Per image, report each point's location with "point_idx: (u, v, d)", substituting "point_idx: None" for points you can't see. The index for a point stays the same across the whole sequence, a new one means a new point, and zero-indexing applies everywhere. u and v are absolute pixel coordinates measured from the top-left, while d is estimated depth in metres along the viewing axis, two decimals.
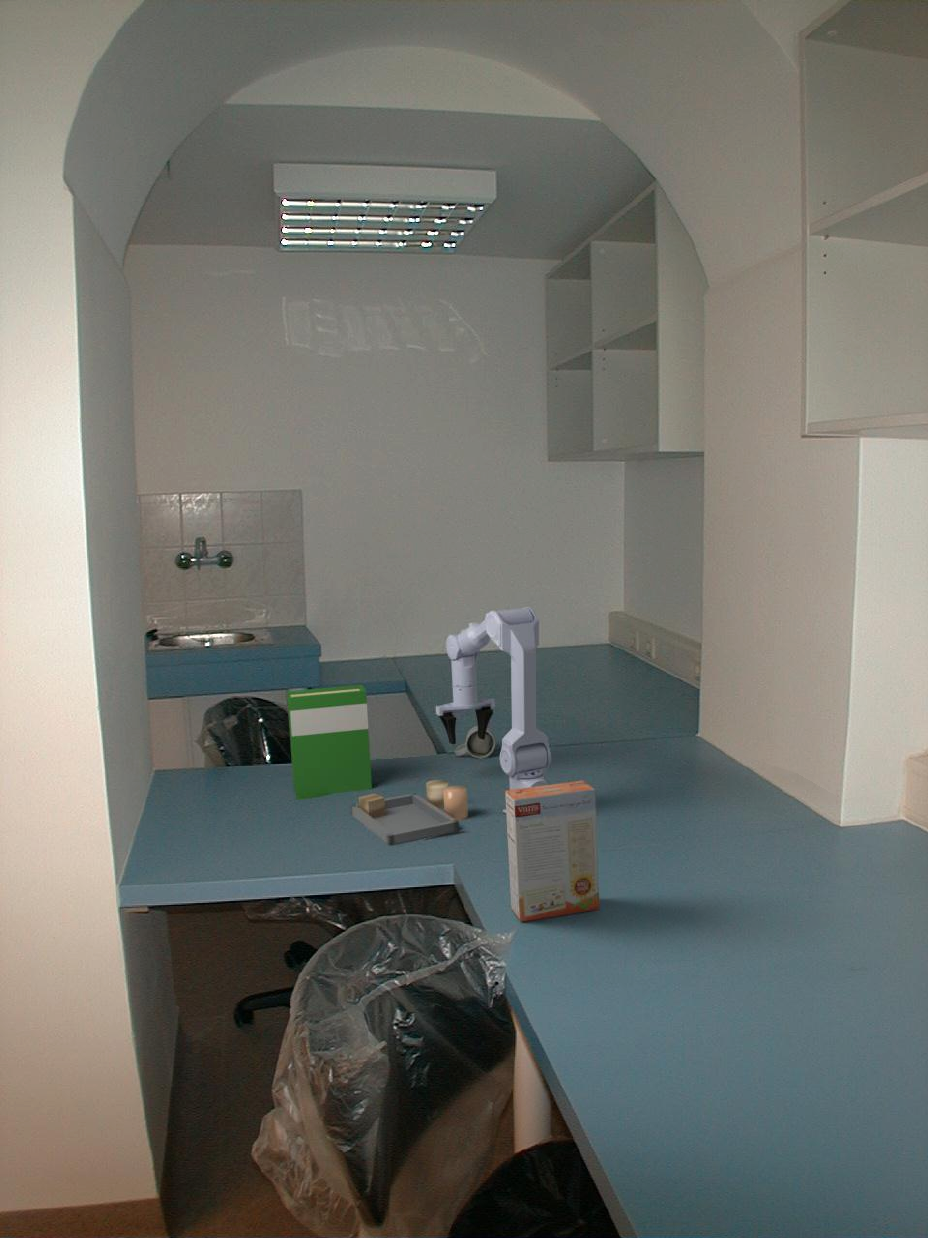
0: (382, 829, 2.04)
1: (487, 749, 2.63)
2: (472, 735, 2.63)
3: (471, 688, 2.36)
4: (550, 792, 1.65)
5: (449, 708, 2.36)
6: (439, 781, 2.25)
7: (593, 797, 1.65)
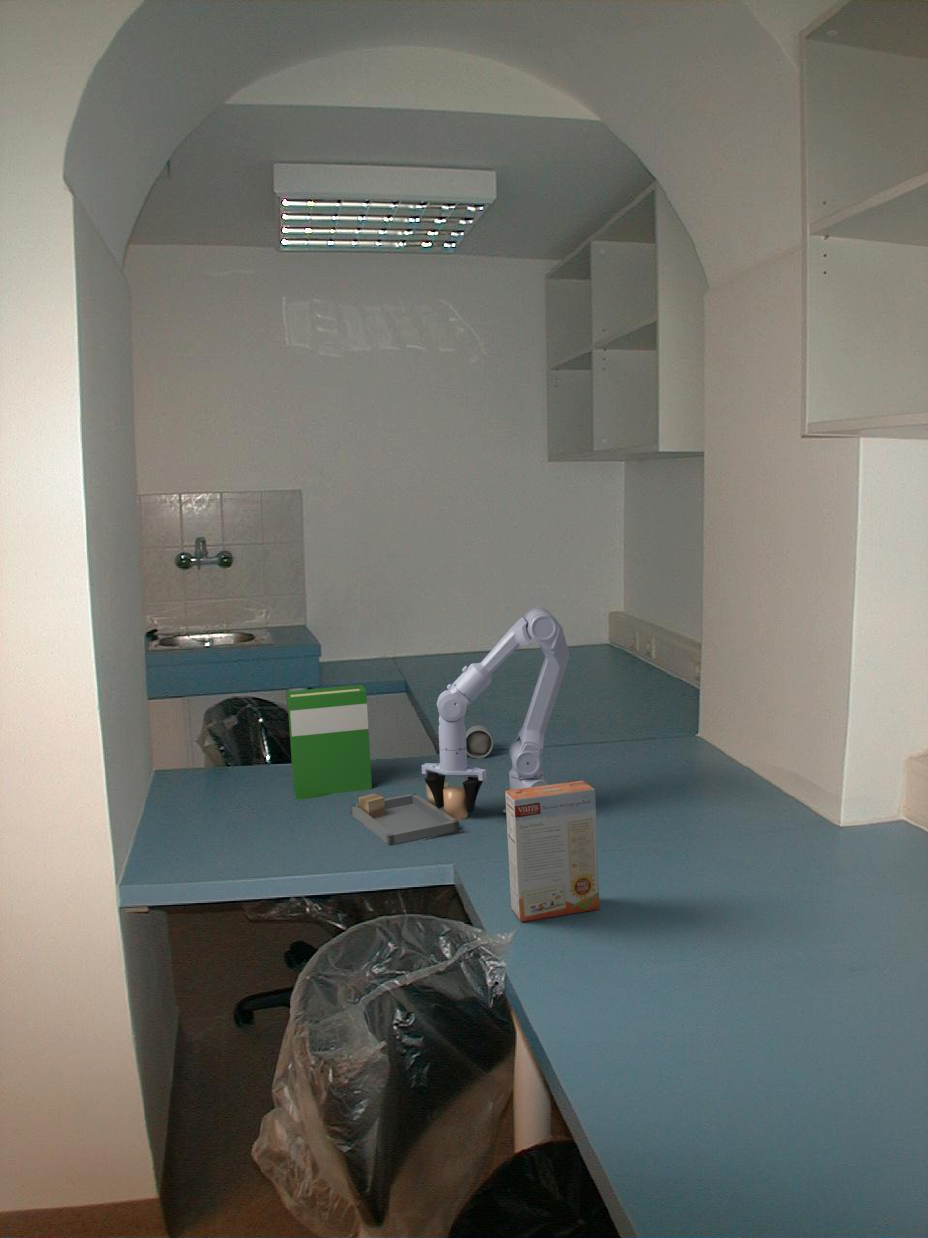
0: (382, 829, 2.04)
1: (485, 749, 2.63)
2: (470, 735, 2.63)
3: (448, 753, 2.12)
4: (550, 792, 1.65)
5: (430, 768, 2.16)
6: None
7: (593, 797, 1.65)
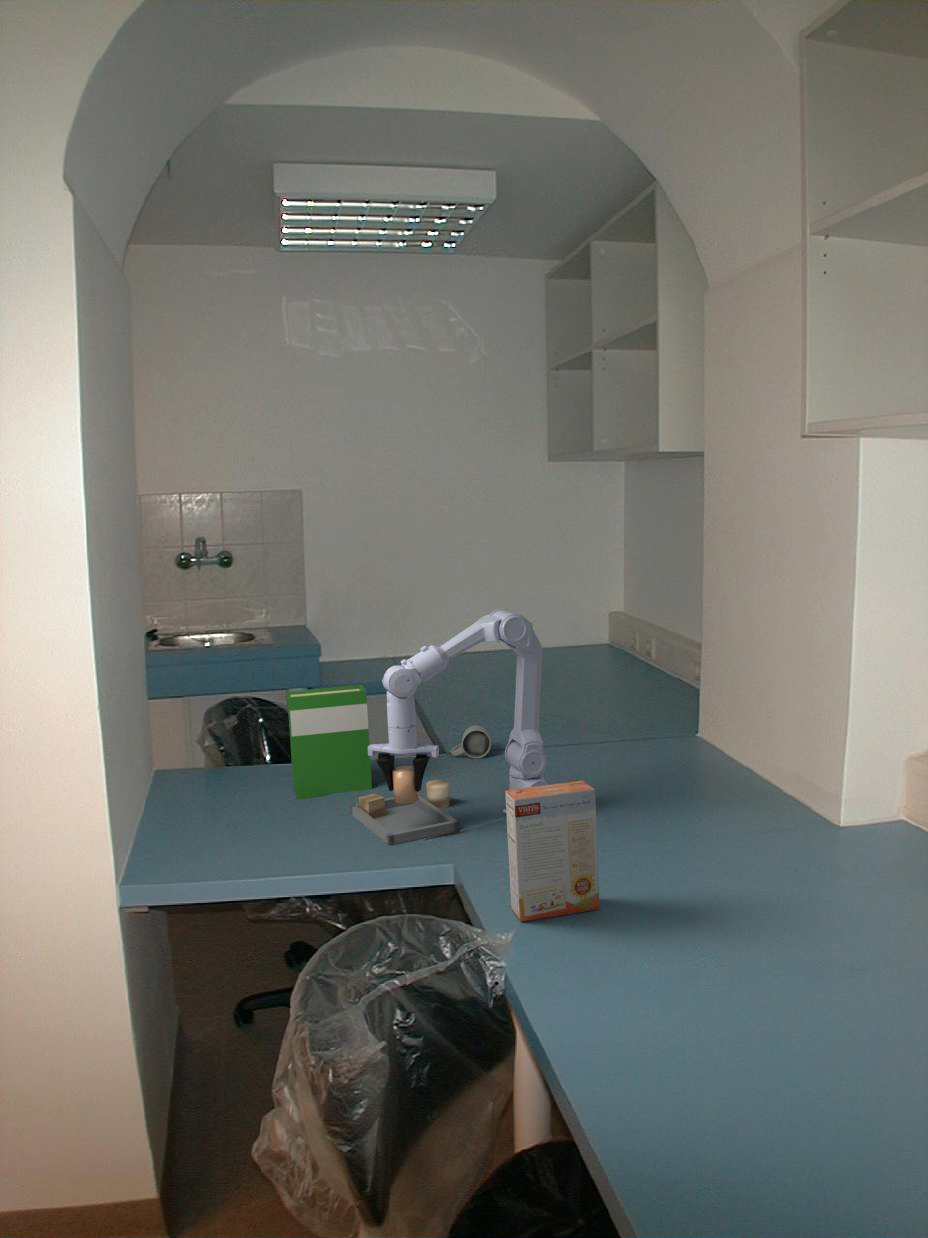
0: (382, 829, 2.04)
1: (483, 749, 2.63)
2: (468, 735, 2.63)
3: (400, 731, 2.04)
4: (551, 792, 1.65)
5: (378, 749, 2.07)
6: (439, 781, 2.25)
7: (593, 797, 1.65)
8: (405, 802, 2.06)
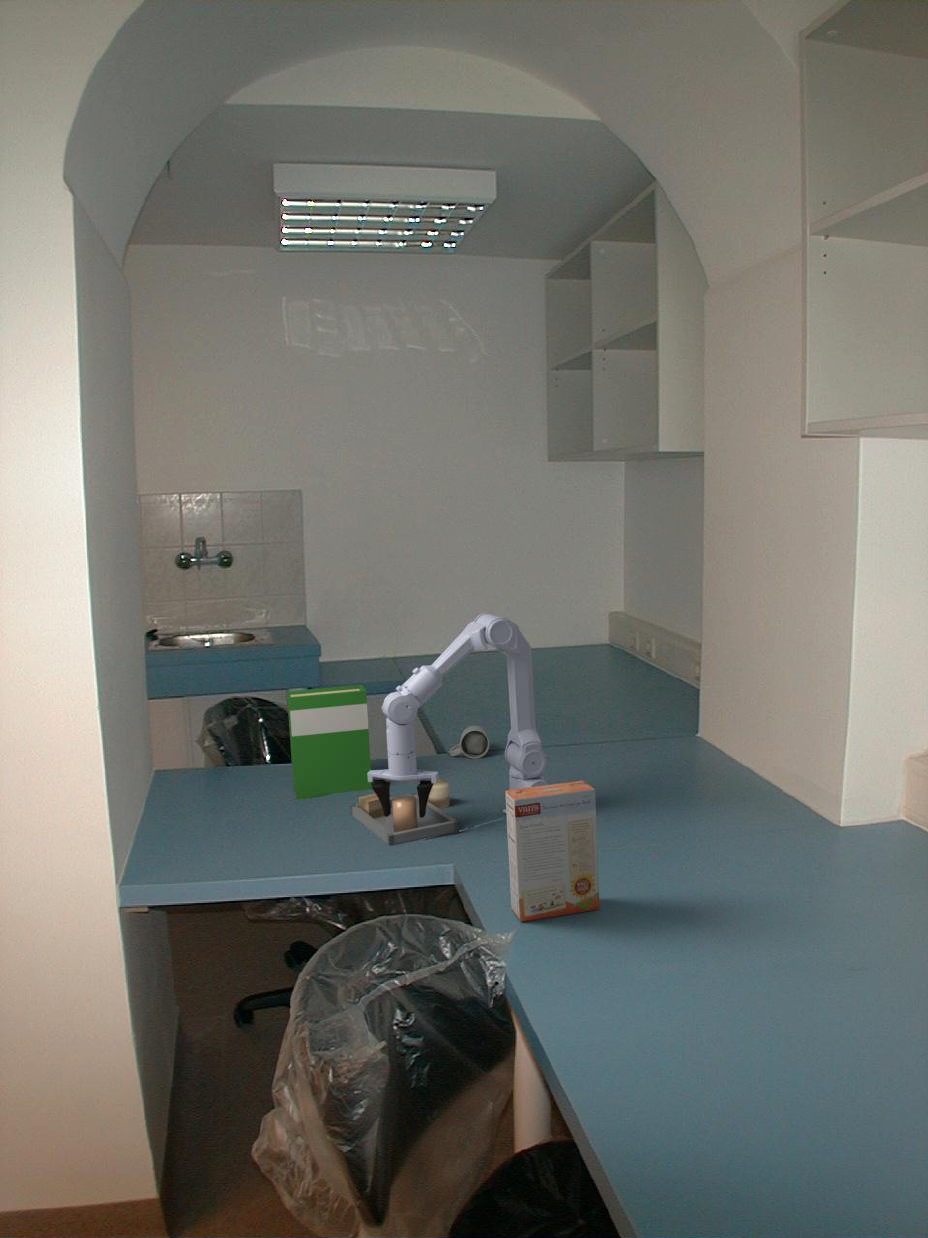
0: (382, 829, 2.04)
1: (481, 749, 2.63)
2: (466, 735, 2.63)
3: (399, 757, 2.04)
4: (550, 792, 1.65)
5: (378, 775, 2.07)
6: (439, 781, 2.25)
7: (593, 797, 1.65)
8: None
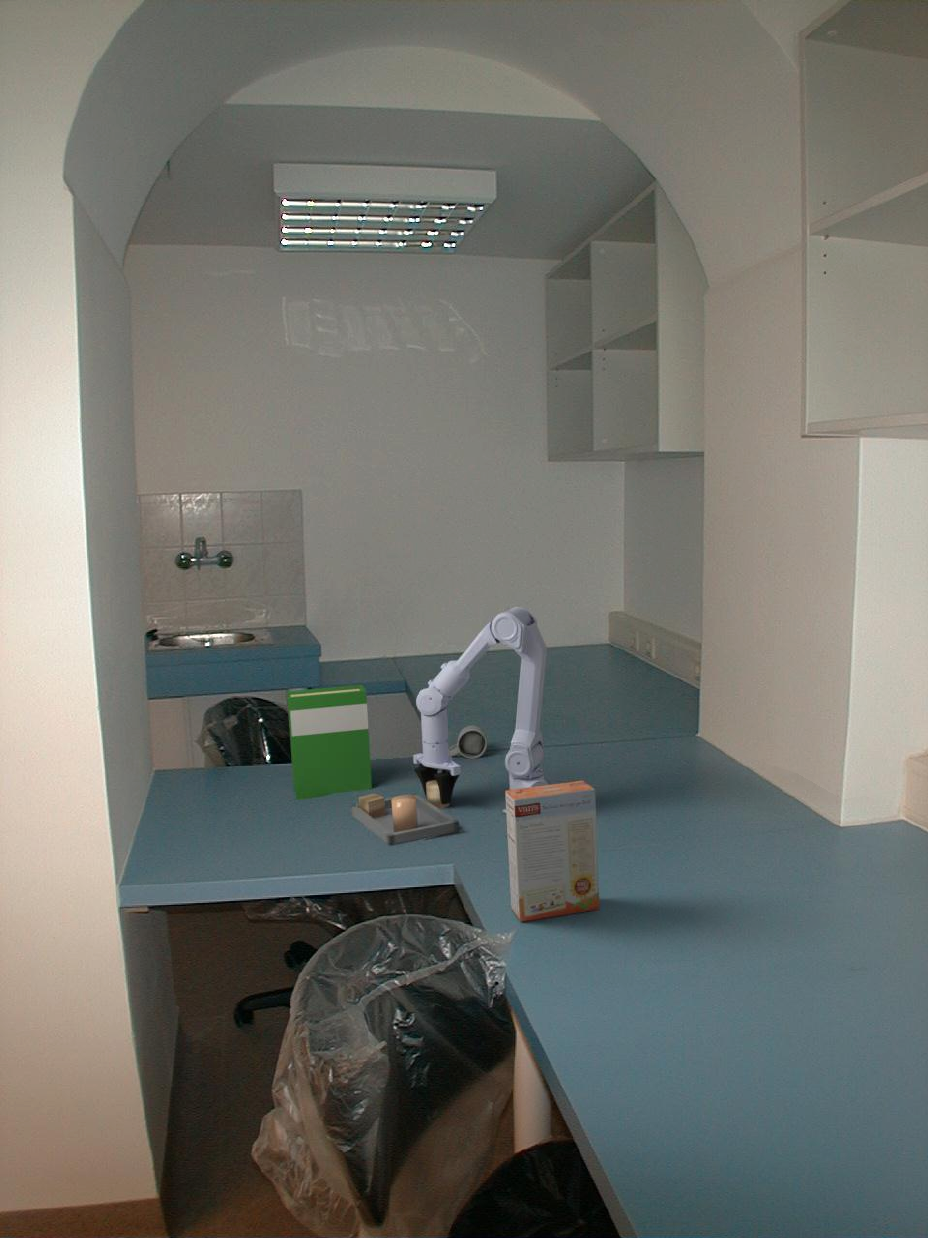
0: (382, 829, 2.04)
1: (479, 749, 2.63)
2: (464, 735, 2.63)
3: (426, 745, 2.20)
4: (550, 792, 1.65)
5: (417, 759, 2.26)
6: None
7: (593, 797, 1.65)
8: None
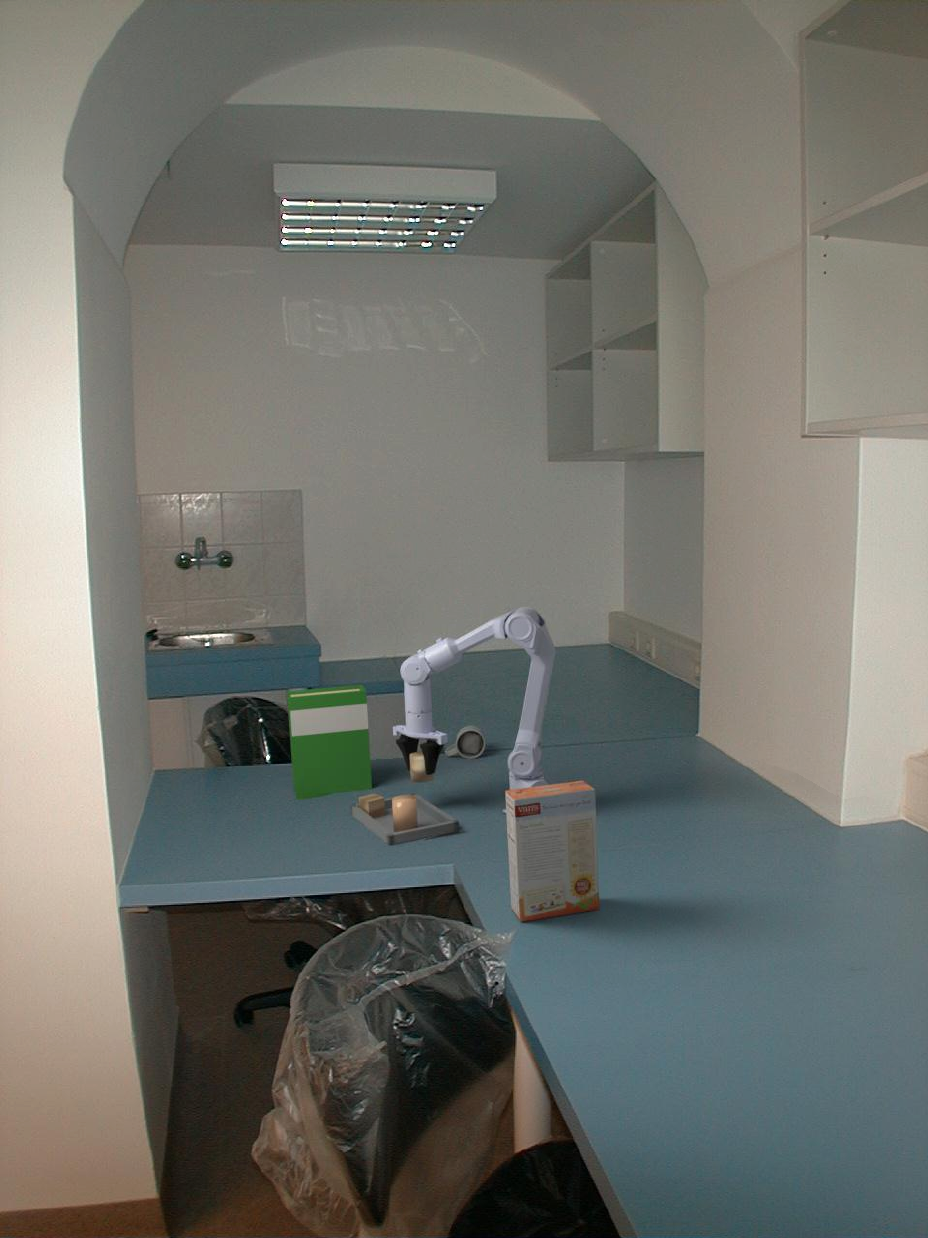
0: (382, 829, 2.04)
1: (477, 749, 2.63)
2: (462, 735, 2.63)
3: (410, 715, 2.16)
4: (550, 792, 1.65)
5: (398, 730, 2.21)
6: (421, 752, 2.22)
7: (593, 797, 1.65)
8: None
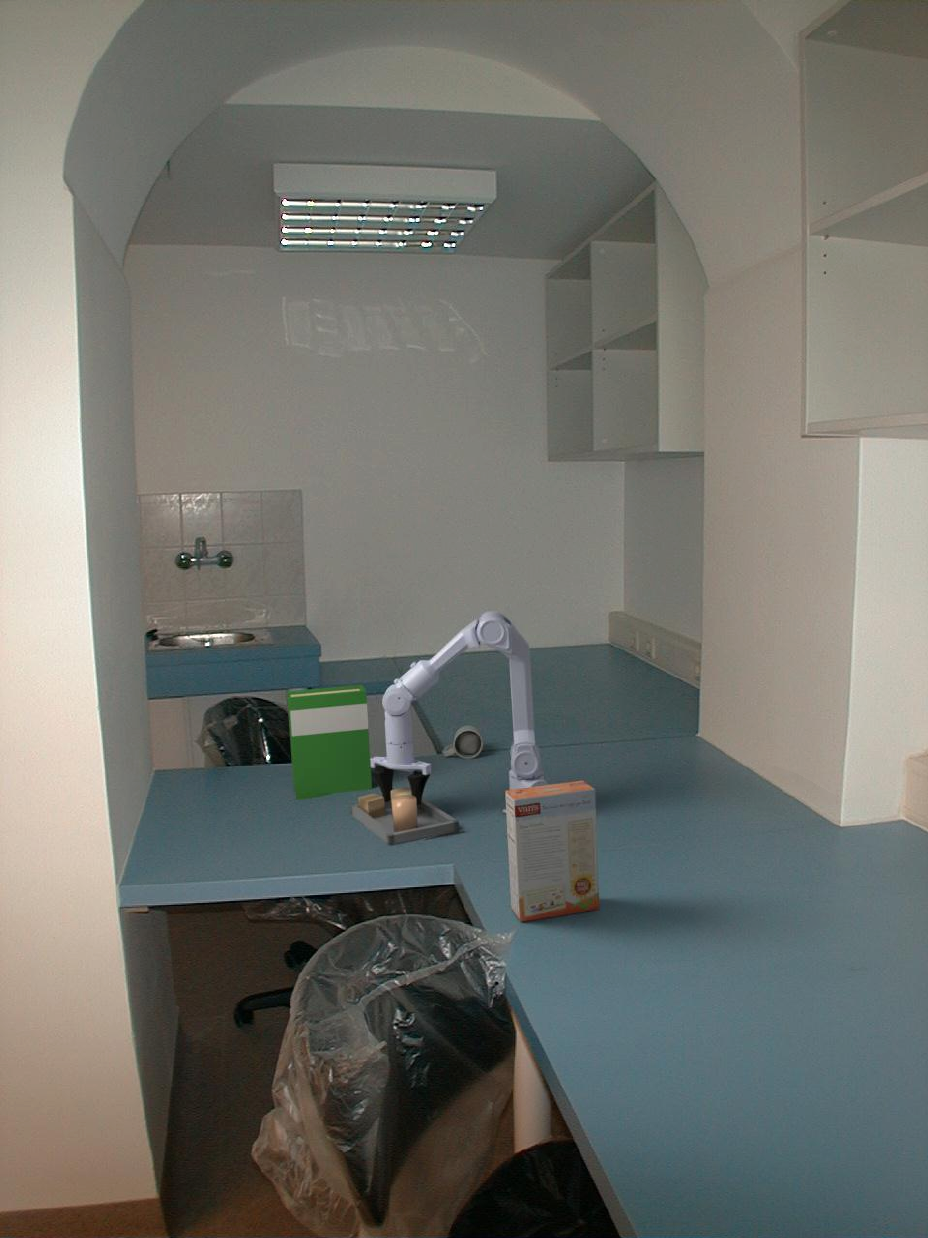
0: (382, 829, 2.04)
1: (475, 749, 2.63)
2: (460, 735, 2.63)
3: (393, 746, 2.13)
4: (550, 792, 1.65)
5: (378, 762, 2.18)
6: (401, 788, 2.19)
7: (593, 797, 1.65)
8: None
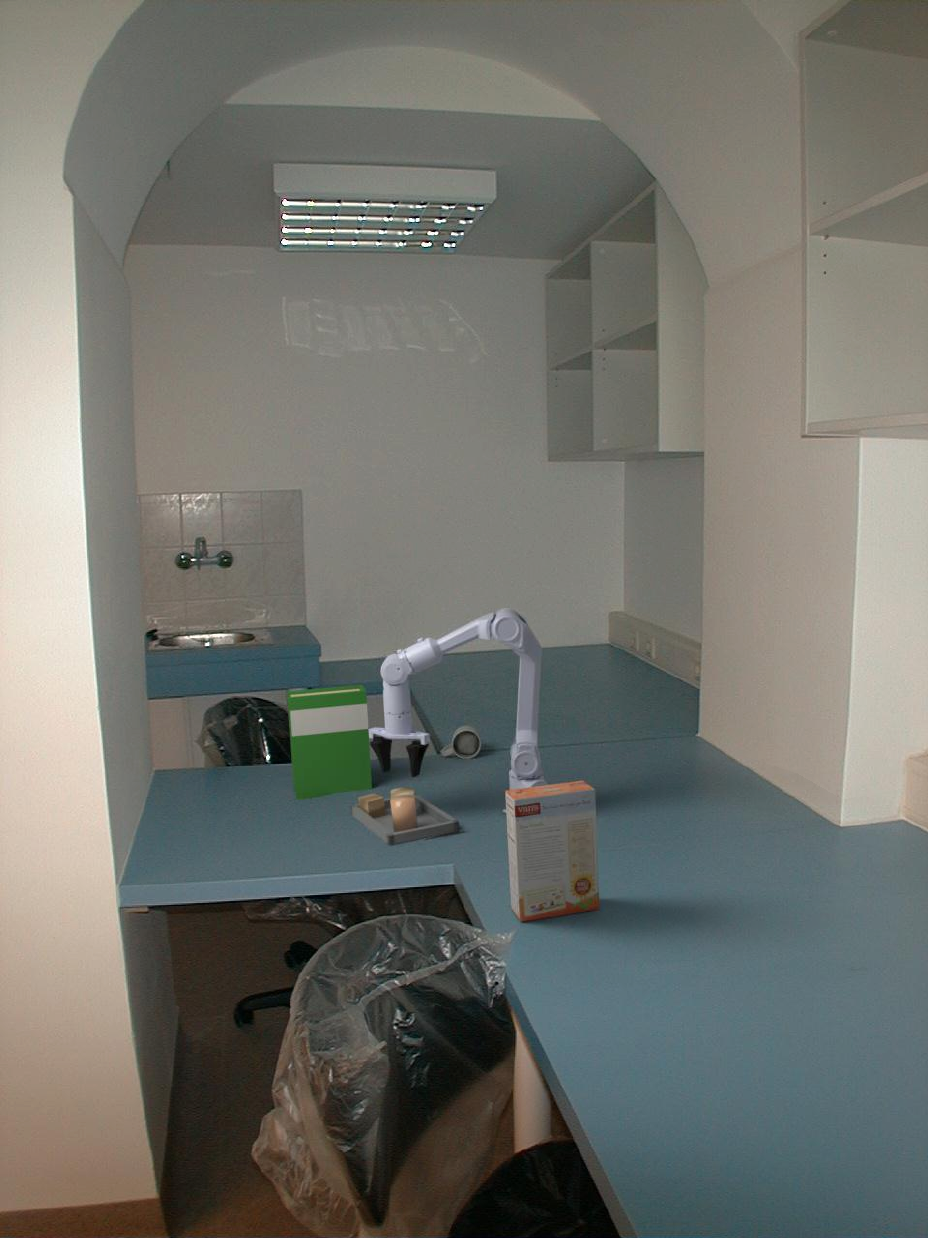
0: (382, 829, 2.04)
1: (473, 749, 2.63)
2: (458, 735, 2.63)
3: (391, 716, 2.12)
4: (550, 792, 1.65)
5: (376, 732, 2.17)
6: (401, 788, 2.19)
7: (593, 797, 1.65)
8: None
